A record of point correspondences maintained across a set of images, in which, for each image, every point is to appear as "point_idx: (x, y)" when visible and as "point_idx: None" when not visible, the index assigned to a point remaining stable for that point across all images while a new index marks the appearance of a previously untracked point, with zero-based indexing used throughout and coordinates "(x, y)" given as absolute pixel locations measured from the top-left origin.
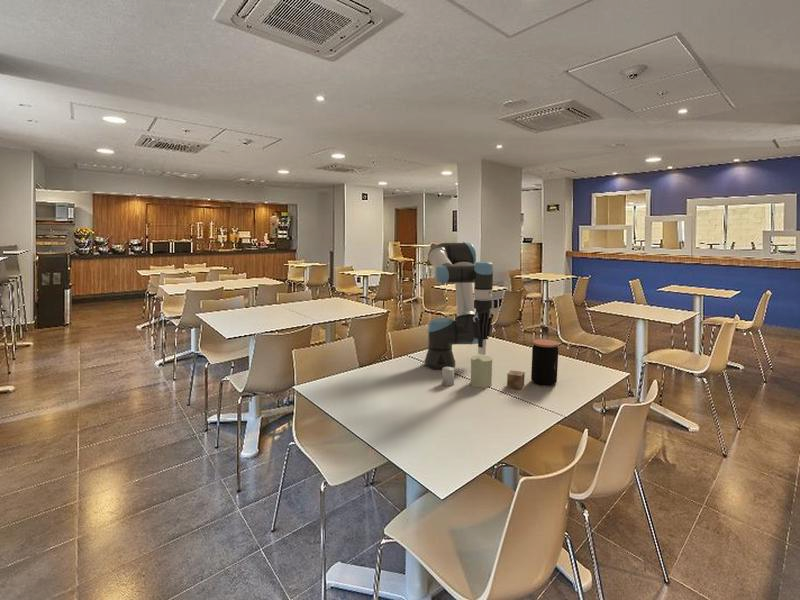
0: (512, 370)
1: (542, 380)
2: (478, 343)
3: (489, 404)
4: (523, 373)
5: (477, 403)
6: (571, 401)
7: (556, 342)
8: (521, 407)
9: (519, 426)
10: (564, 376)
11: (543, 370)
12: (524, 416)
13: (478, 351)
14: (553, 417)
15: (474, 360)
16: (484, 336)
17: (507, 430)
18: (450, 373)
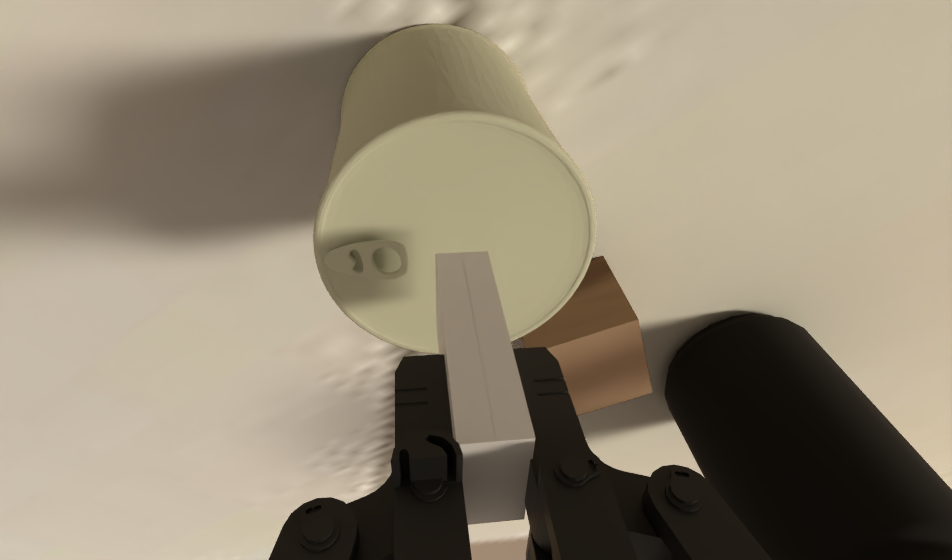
0: (638, 332)
1: (673, 413)
2: (397, 411)
3: (179, 369)
4: (614, 402)
5: (116, 325)
6: None
7: None
8: (303, 460)
9: (127, 537)
10: (889, 376)
11: (702, 468)
12: (228, 506)
13: (437, 279)
14: None
15: (314, 244)
16: (547, 546)
17: (46, 535)
18: None
